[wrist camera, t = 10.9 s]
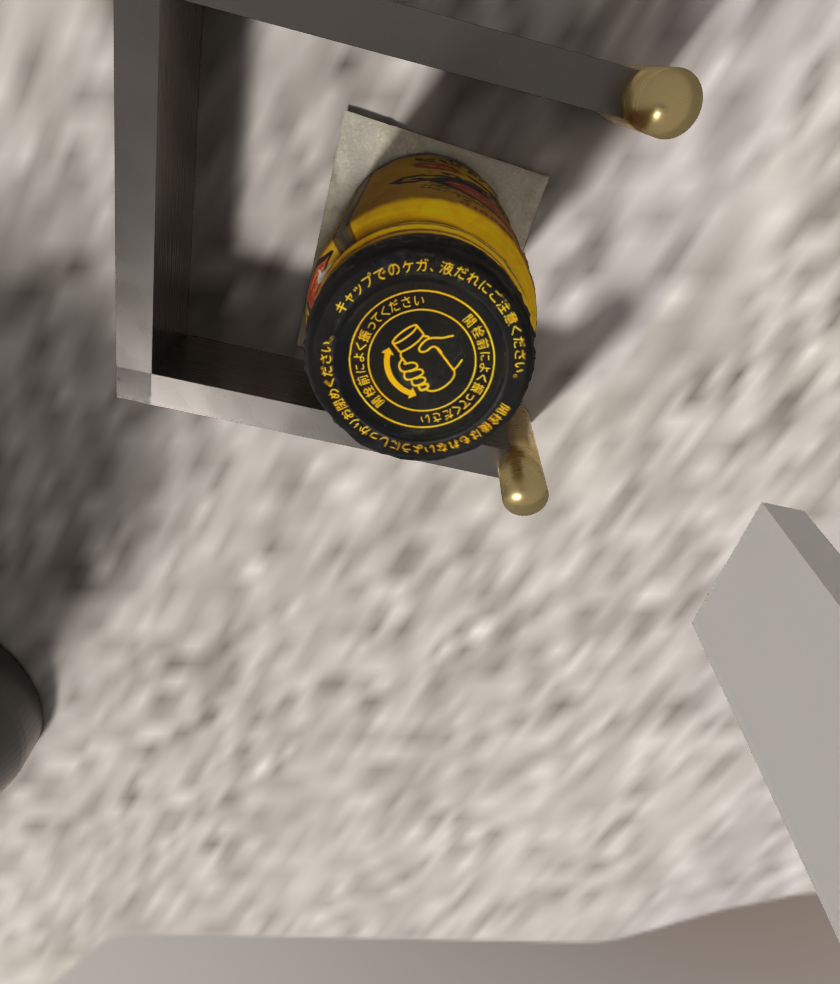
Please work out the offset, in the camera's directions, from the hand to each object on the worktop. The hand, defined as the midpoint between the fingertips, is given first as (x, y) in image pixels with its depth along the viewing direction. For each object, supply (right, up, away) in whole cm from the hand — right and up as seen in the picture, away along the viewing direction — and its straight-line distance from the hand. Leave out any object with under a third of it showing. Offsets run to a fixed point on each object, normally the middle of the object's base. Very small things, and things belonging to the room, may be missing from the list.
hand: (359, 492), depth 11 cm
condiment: (+1, +9, +15) cm, 17 cm away
